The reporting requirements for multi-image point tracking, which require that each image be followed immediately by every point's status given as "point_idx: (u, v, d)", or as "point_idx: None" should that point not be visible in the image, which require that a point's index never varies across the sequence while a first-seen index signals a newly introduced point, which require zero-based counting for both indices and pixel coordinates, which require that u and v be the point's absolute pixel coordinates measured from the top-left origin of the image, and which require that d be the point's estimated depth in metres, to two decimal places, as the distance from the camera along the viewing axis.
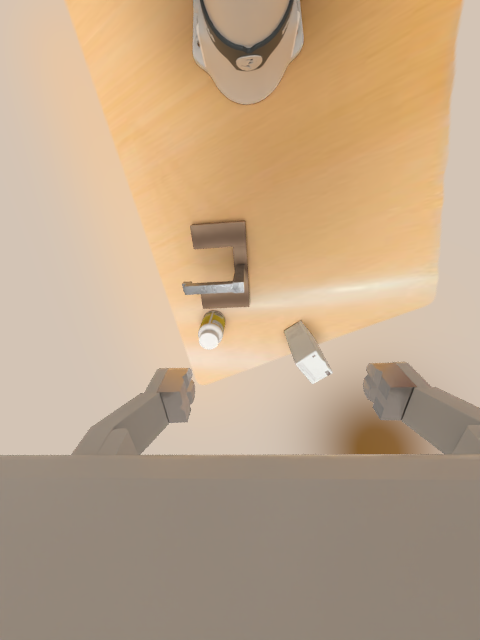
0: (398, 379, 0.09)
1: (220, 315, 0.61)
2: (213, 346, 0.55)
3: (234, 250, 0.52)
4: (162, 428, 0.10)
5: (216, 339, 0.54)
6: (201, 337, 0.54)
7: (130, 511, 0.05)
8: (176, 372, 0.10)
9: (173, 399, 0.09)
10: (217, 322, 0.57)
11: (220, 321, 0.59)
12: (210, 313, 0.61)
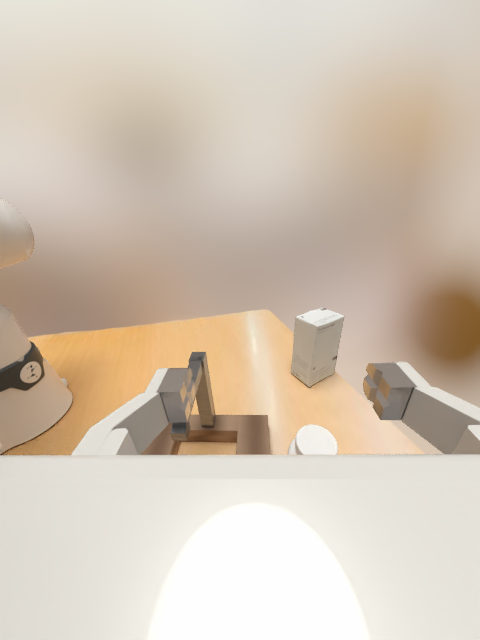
0: (398, 378, 0.09)
1: None
2: (325, 433, 0.27)
3: None
4: (162, 428, 0.10)
5: (308, 426, 0.28)
6: (308, 454, 0.25)
7: (130, 511, 0.05)
8: (176, 372, 0.10)
9: (173, 399, 0.09)
10: None
11: None
12: None
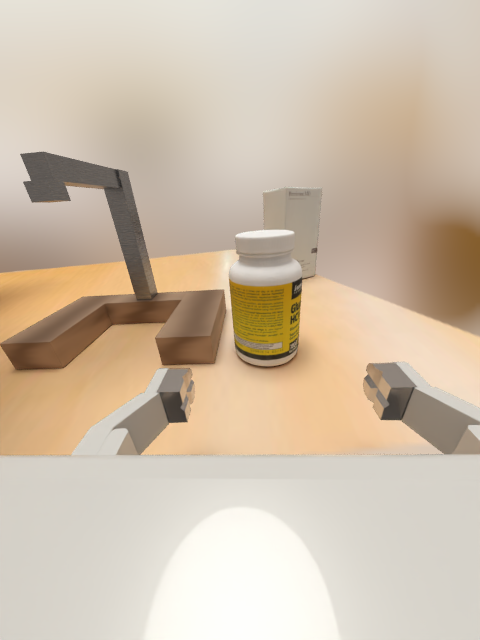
0: (398, 378, 0.09)
1: None
2: (279, 230, 0.19)
3: (112, 302, 0.29)
4: (162, 428, 0.10)
5: (257, 231, 0.20)
6: (248, 236, 0.17)
7: (130, 511, 0.05)
8: (176, 372, 0.10)
9: (173, 399, 0.09)
10: None
11: None
12: (234, 336, 0.22)
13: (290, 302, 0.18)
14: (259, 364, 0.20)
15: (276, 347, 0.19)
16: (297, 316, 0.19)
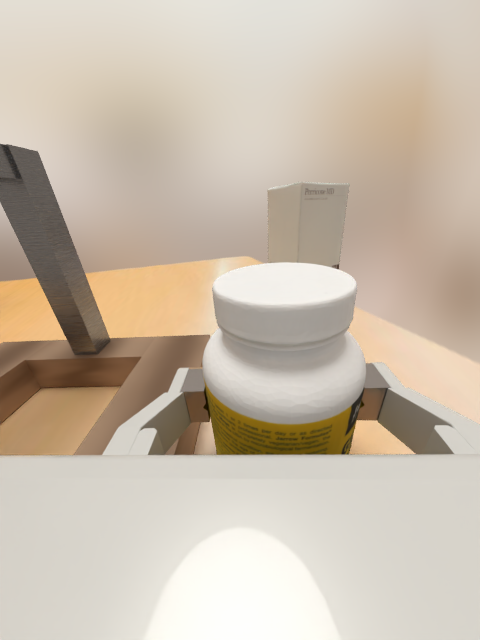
0: (373, 379, 0.09)
1: None
2: (313, 267, 0.09)
3: (37, 357, 0.19)
4: (184, 428, 0.09)
5: (263, 265, 0.09)
6: (243, 295, 0.06)
7: (130, 511, 0.05)
8: (197, 371, 0.10)
9: (196, 399, 0.09)
10: None
11: None
12: None
13: (342, 441, 0.08)
14: None
15: None
16: (349, 449, 0.09)
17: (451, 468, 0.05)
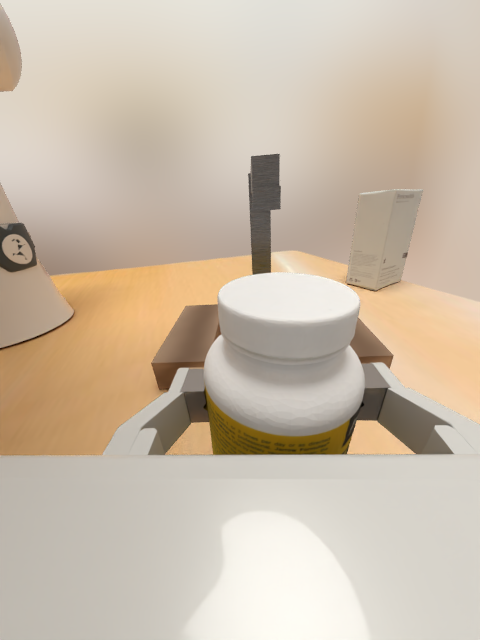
0: (373, 379, 0.09)
1: None
2: (316, 280, 0.09)
3: None
4: (185, 428, 0.09)
5: (268, 274, 0.10)
6: (249, 308, 0.06)
7: (130, 511, 0.05)
8: (197, 372, 0.10)
9: (196, 399, 0.09)
10: None
11: None
12: None
13: (338, 453, 0.08)
14: None
15: None
16: None
17: (451, 468, 0.05)
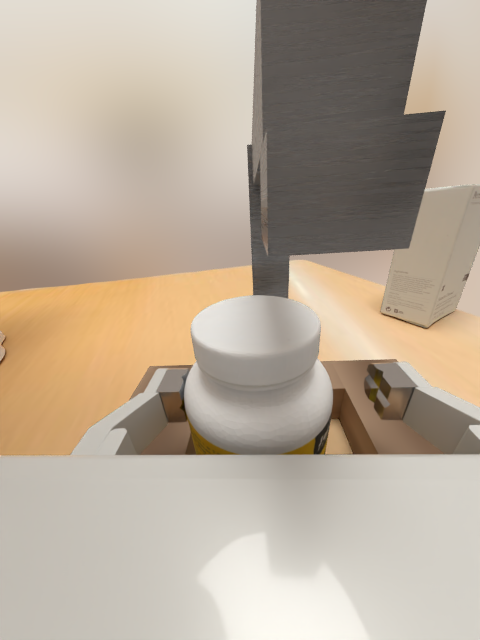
0: (399, 378, 0.09)
1: None
2: (286, 304, 0.09)
3: None
4: (161, 428, 0.10)
5: (243, 298, 0.10)
6: (215, 340, 0.07)
7: (130, 511, 0.05)
8: (175, 372, 0.10)
9: (172, 399, 0.09)
10: None
11: None
12: None
13: None
14: None
15: None
16: None
17: (451, 468, 0.05)
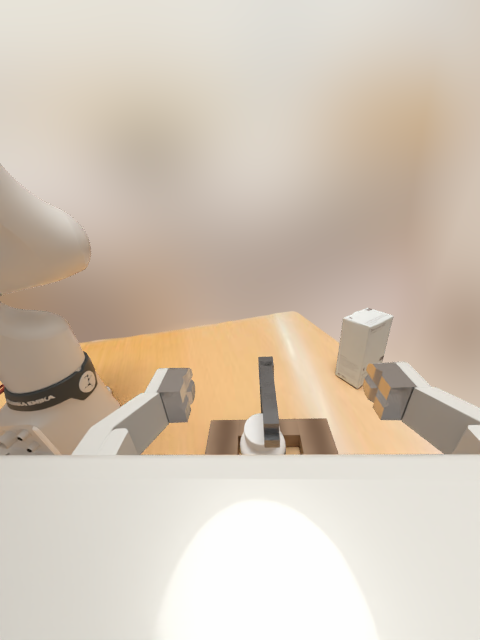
0: (398, 378, 0.09)
1: None
2: None
3: None
4: (162, 428, 0.10)
5: (257, 415, 0.31)
6: (252, 438, 0.28)
7: (130, 511, 0.05)
8: (176, 372, 0.10)
9: (173, 399, 0.09)
10: None
11: None
12: None
13: None
14: None
15: None
16: None
17: (451, 468, 0.05)
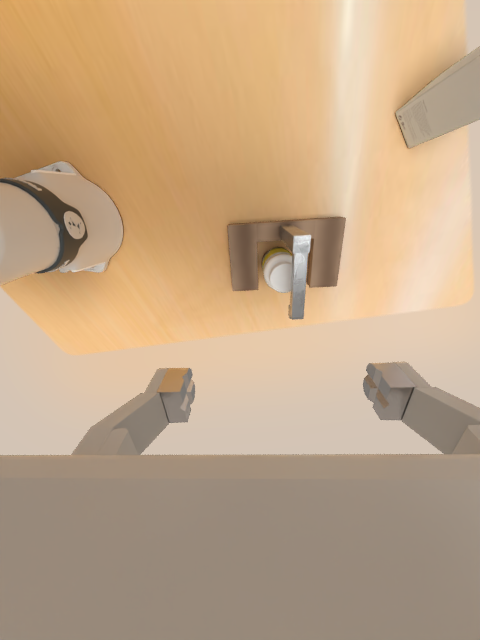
0: (398, 378, 0.09)
1: (266, 254, 0.43)
2: None
3: (261, 239, 0.40)
4: (162, 428, 0.10)
5: (282, 266, 0.34)
6: (277, 288, 0.36)
7: (130, 511, 0.05)
8: (176, 372, 0.10)
9: (173, 399, 0.09)
10: (266, 260, 0.39)
11: (269, 255, 0.40)
12: None
13: None
14: None
15: None
16: None
17: (451, 468, 0.05)
